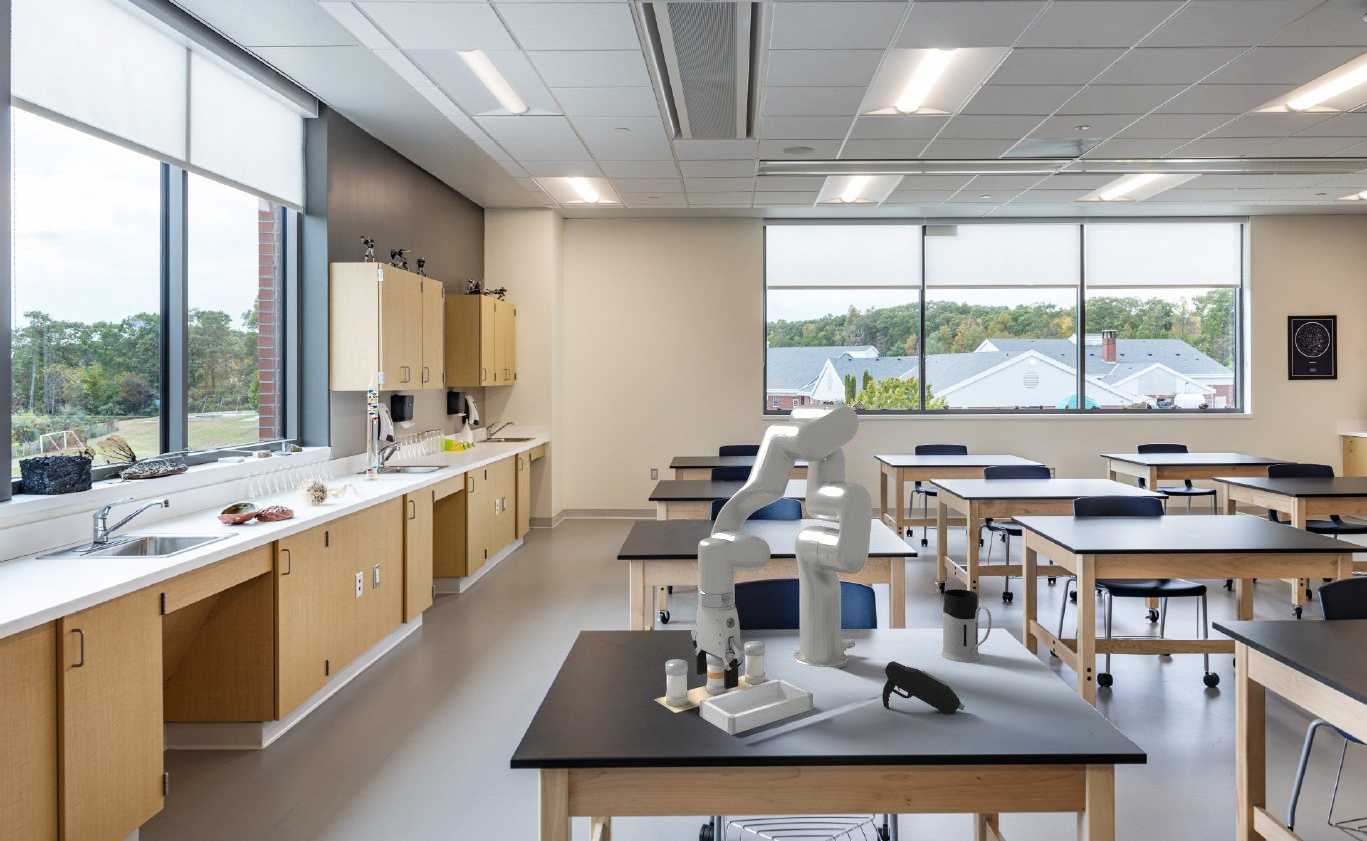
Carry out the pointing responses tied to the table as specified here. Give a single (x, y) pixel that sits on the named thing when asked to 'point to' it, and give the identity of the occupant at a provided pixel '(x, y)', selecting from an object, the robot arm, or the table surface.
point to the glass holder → (962, 626)
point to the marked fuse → (715, 675)
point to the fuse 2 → (754, 662)
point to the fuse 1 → (676, 683)
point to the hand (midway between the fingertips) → (717, 680)
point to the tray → (755, 706)
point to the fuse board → (701, 695)
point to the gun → (920, 688)
